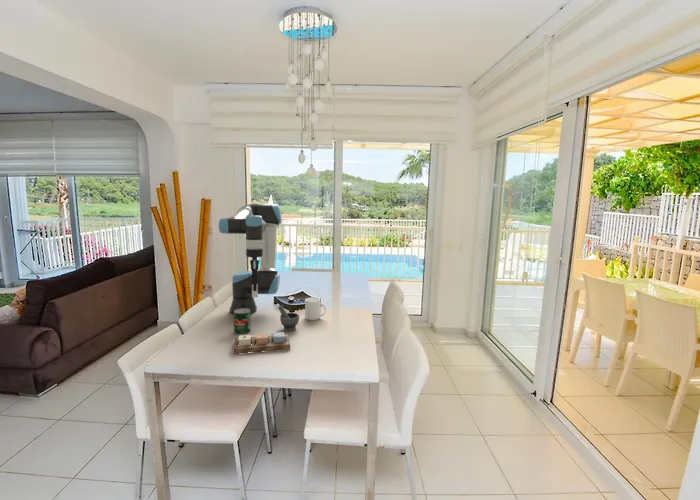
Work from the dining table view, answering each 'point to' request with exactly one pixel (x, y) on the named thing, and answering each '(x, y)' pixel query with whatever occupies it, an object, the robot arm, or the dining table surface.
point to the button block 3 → (278, 337)
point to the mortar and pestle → (288, 319)
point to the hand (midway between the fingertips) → (254, 296)
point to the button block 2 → (261, 338)
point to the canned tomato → (242, 321)
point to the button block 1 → (244, 340)
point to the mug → (313, 308)
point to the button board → (261, 345)
